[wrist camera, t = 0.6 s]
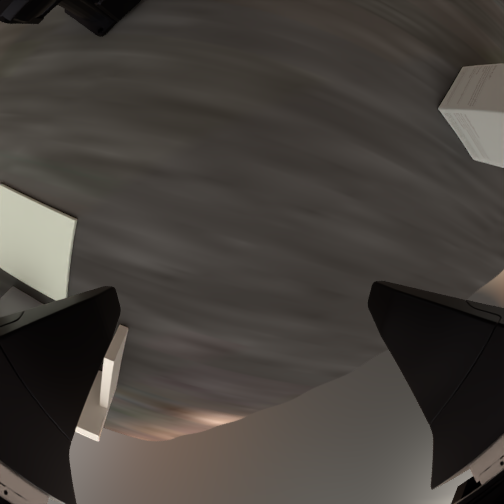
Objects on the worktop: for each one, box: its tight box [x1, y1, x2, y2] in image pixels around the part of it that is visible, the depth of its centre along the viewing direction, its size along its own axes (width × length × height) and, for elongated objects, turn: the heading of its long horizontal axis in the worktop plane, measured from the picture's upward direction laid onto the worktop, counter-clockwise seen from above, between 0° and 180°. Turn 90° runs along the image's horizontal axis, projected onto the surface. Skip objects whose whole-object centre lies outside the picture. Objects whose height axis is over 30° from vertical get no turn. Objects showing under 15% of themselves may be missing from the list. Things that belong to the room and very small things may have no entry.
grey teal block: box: [0, 286, 44, 317], centre depth 20 cm, size 4×6×10 cm, turn 65°
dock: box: [75, 325, 128, 442], centre depth 21 cm, size 12×26×9 cm, turn 65°
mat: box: [0, 184, 77, 301], centre depth 21 cm, size 10×11×1 cm
